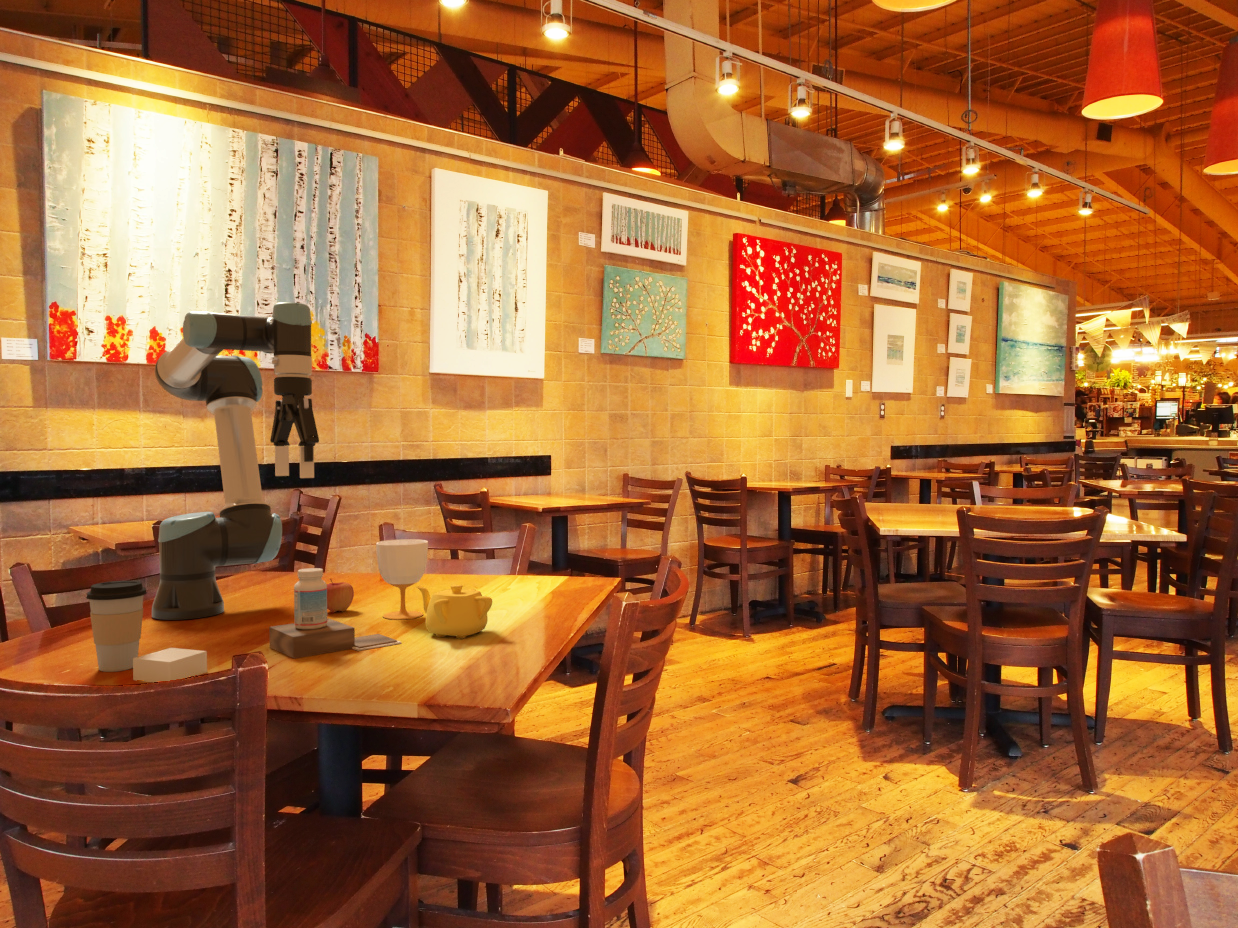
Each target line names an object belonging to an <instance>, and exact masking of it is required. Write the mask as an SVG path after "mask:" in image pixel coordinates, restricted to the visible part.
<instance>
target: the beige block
mask: <svg viewBox="0 0 1238 928" xmlns="http://www.w3.org/2000/svg"><path fill="white" fill-rule="evenodd" d="M132 672H133V674H132V676H133V677H132V680H133V681H137V680H144V681H143V682H147V683H154V682H157V681H170V680H176V679H182V678H187V677H189V676H194V677H196V676H195V675H197V676H200V675H203V674H206V673H207V672H208V651H207V650H199V649H191V648H190V649H188V648H178V647H168V648H165V649H162V650H158V651H155V652H151V653H147V654H143V655H138V657H136V658H133V668H132Z"/></svg>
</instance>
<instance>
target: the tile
mask: <svg viewBox="0 0 1238 928" xmlns="http://www.w3.org/2000/svg"><path fill="white" fill-rule="evenodd" d="M400 644H402V641H400V640H397V639H394V638H391V637H389V636H385V635H383V634H380V633H376V634H368V635H363V636H362V635H361V636H357V637H355V647H352V650H354V651H357V652H360V651H365V650H371V649H377V648H382V647H388V646H393V645H400Z"/></svg>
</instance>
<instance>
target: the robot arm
mask: <svg viewBox="0 0 1238 928" xmlns="http://www.w3.org/2000/svg"><path fill="white" fill-rule="evenodd" d="M272 307H273V308H272V314H271V317H270V316H267V317H266V316H256V315H255V316H254V315H243V314H234V313H233V314H232V313H222V312H220V313H219V312H212V311H211V312H210V311H206V310H204V311H188V312H187V313H186V314H185V315H184V319H183V323H182V336H183V338H182V339H181V340H180V341H179V342H178V343H177V344H176V346H175V347H174V348H173V349H169V350H166V351H164V353H162V354H161V355H160V357H159V358H158V360H157V361H156V362H155V366H154V376H155V379H156V380H157V382H158V385H160V386H161V387H162V389H163V390H165V392H166V393H168V394H170V395H172V396H174V397H176V398H178V399H181V400H185V401H190V402H191V401H193V402H195V401H196V402H197V401H198V402H205V406H206V411H208V412H209V413H211V415H214V423H215V430H216V438H217V440H216V441H217V448H218V455H219V465H220V471H221V472H220V473H221V480H222V481H221V482H222V489H223V499H224V506H223V507H222V508H221V509H220V510H219V513H218V514H219V517H216V515H215V513H214V511H200V512H191V513H184V514H180V515H179V514H178V515H175V516H171V517H167V518H166V519H164V520H162V521H161V523H160V524H159V530H158V539H157V541H158V549H159V550H158V551H159V552H158V553H159V554H158V556H159V557H158V559H159V585H158V588H157V590H156V593H155V597H154V599H153V602H152V605H151V618H153V619H157V620H163V621H166V620H168V621H172V620H173V621H174V620H175V621H176V620H177V621H178V620H181V621H182V620H193V619H201V618H207V617H212V616H217V615H219V614H221V613H224V612H225V602H224V598H223V596H222V593H221V590H220V588H219V585H218V583H217V582H218V581H217V579H216V567H224V566H235V565H236V566H237V565H245V564H246V565H247V564H254V565H256V564H258V563H266V562H271V561H273V559H275V558H276V556H277V555H278V553H279V551H280V548H281V544H282V540H283V523H282V519H281V517H280V515H279V514H278V513H272V510H271V509H272V508H271V505H270V504H268V503H267V502H266V501H265V500H264V499H263V492H262V485H261V478H260V477H261V476H260V470H259V461H258V456H257V455H258V454H257V445H256V439H255V433H254V422H253V418H252V412H253V410H255V408H256V407H257V403H258V402H259V401H260V400H261V399H262V396H263V385H264V384H263V378H262V375H261V371H260V368H259V366H258V364H257V363H256V362H255V361H254V360H253V359H252V358H250V357H244V356H238V355H219V354H220V353H222V352H223V351H224V350H230V351H246V352H248V351H249V352H263V353H264V354H270V355H271V354H273V359H272V360H271V364H272V365H273V374H274V375H276V377H274V379H273V393H274V395H275V396H281V397H282V398H281V399H280V400H275V403H274V404H275V407H274V408H275V410H274V417H273V422H272V428H271V434H270V440H269V441H270V444H272V443H273V446H274V467H275V469H274V470H275V472H274V475H275V477H287V476H288V477H289V476H290V464H289V463H290V457H289V455H290V454H289V453H290V452H289V451H290V450H289V448H290V446H291V444H290V442H289V441H288V440H289V437H290V435H291V434H290V433H291V431H292V428H293V424H294V426H295V429H296V433H297V435H298V439H299V443H298V447H299V478H300V479H314V478H315V448H314V447H315V446H316V444H319V442H320V437H319V433H318V429H317V424H316V420H315V416H314V410H313V399H312V398H305V396H306V397H309V396H311V395H312V394H313V380H312V379H311V377H310V376H313V359H312V358H313V356H312V322H313V320H312V316H311V315H312V314H311V308H310V306H308V305H307V304H305V303H300V302H291V301H290V302H286V301H282V302H277V303H275V304H274V305H273V306H272Z"/></svg>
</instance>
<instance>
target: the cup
mask: <svg viewBox="0 0 1238 928" xmlns="http://www.w3.org/2000/svg"><path fill="white" fill-rule="evenodd" d="M375 549H376V550H375V551H376V561H377V566H378V567H377V568H378V570H379V573H380V576H381V578H382V580H384V582H385V583H387V584H389V585H390V586H392V587H395V588H398V589H399V591H400V593H399V594H400V606H399V607H400V608H399V610H398V611H391V612H387V613H384V614H383V615H382V618H383V619H386V620H391V621H395V620H396V621H397V620H398V621H402V620H404V621H405V620H415V619H417V618H421V617H423V615H424V614H423V613H424V612H421V611H416V610H407V609H406V608H407V607H406V589H407V588H408V587H411V586H414V585H415V584H417V583H418V582H420V581H421V579H422V578H423V576H424V575H425V572H426V568H427V563H428V562H427V561H428V553H429V552H428V551H429V541H428V540H427V539H426V540H425V539H417V538H412V539H410V538H406V539H405V538H404V539H402V538H401V539H399V538H398V539H388V540H380V541H377V542H376V544H375Z"/></svg>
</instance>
